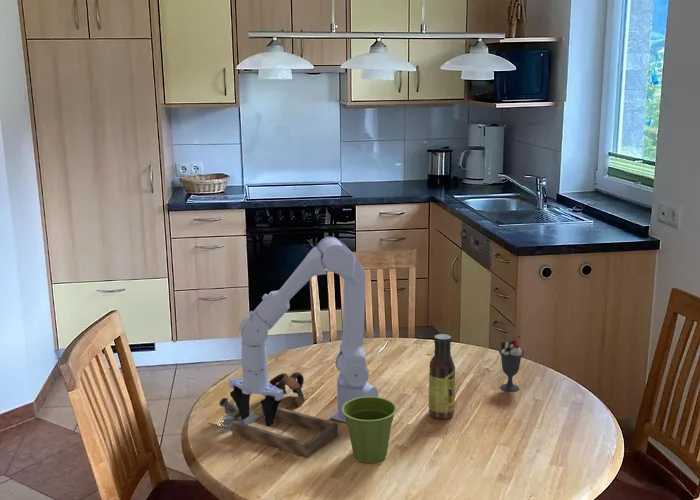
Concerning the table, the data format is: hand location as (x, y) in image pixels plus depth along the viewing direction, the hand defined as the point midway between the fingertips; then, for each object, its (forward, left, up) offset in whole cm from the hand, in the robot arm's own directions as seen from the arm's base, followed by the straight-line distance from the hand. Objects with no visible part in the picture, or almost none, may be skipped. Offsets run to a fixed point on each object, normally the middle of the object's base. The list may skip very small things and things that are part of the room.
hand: (257, 421), depth 171 cm
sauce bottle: (-34, -28, -2) cm, 44 cm away
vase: (+8, +1, -2) cm, 8 cm away
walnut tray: (-8, 0, -1) cm, 8 cm away
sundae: (-43, -51, -2) cm, 67 cm away
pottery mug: (+3, -15, -2) cm, 16 cm away
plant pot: (-29, -2, -2) cm, 30 cm away
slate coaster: (+7, 0, -2) cm, 7 cm away
